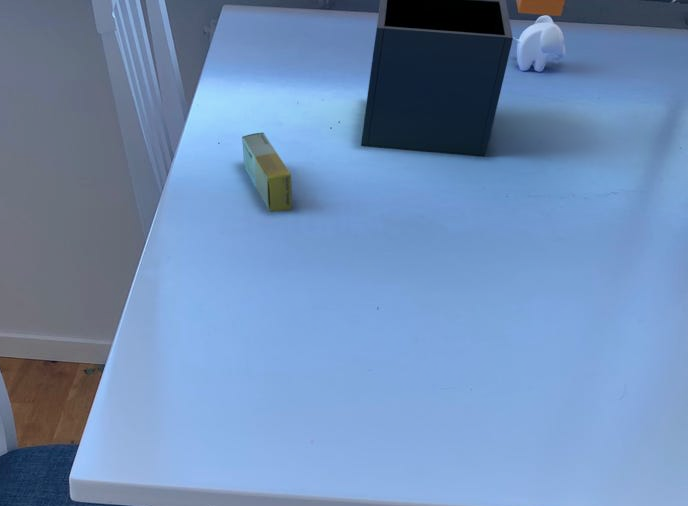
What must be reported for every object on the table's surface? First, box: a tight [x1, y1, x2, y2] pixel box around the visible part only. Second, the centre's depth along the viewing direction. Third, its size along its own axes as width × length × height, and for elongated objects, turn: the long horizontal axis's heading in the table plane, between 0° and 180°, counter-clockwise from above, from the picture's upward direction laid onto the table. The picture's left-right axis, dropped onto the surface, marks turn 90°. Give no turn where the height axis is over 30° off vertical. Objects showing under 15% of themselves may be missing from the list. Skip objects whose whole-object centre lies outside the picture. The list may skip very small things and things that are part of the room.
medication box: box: [241, 132, 293, 212], centre depth 102 cm, size 12×3×4 cm, turn 12°
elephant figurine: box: [513, 15, 568, 73], centre depth 131 cm, size 7×8×6 cm
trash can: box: [360, 0, 514, 158], centre depth 111 cm, size 15×15×13 cm
